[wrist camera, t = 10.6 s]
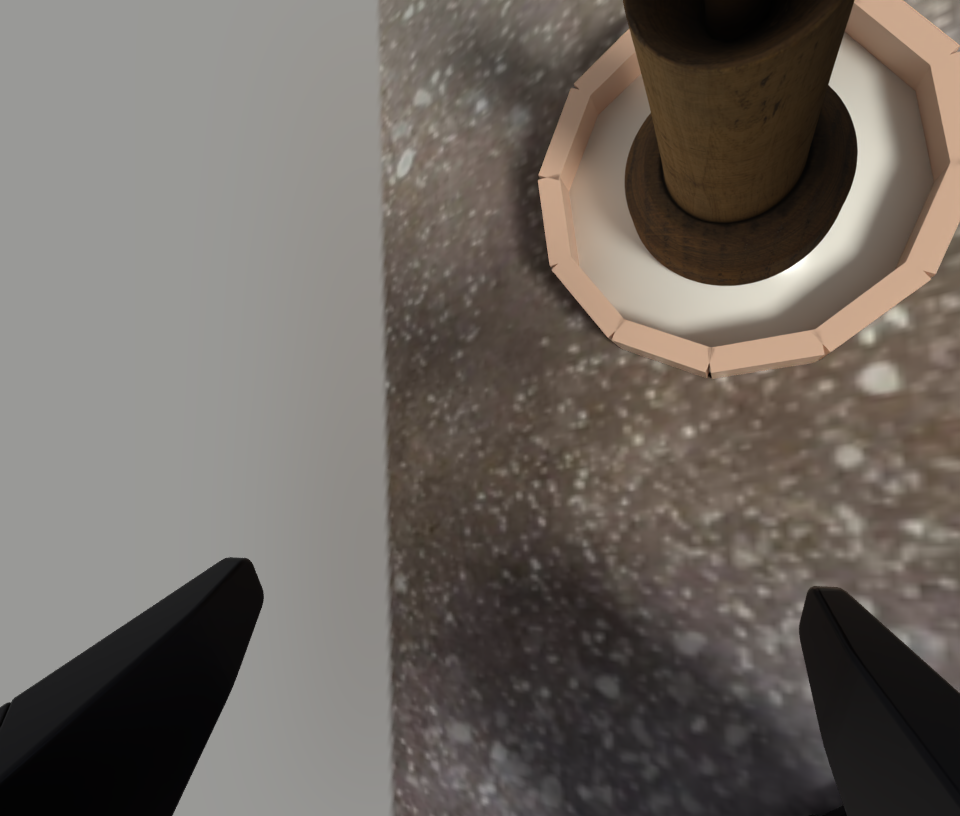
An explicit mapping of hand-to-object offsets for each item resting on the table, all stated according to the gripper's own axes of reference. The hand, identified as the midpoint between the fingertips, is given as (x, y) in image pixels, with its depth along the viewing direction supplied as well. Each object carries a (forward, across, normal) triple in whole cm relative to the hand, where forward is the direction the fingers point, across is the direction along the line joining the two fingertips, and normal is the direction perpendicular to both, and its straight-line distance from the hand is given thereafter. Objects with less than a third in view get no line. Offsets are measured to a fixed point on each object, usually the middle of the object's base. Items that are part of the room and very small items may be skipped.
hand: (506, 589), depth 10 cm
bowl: (+16, -6, -3) cm, 18 cm away
